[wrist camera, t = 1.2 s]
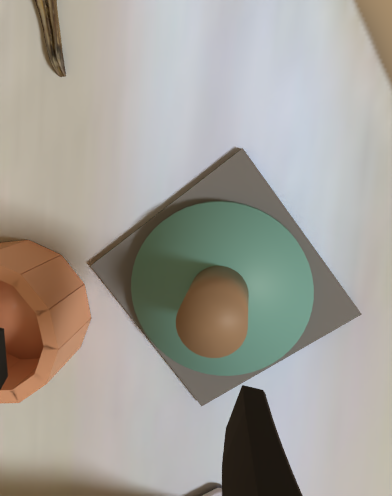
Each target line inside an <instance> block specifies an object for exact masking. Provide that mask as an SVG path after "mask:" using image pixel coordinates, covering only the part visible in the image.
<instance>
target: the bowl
mask: <svg viewBox="0 0 392 496" xmlns="http://www.w3.org/2000/svg"><path fill="white" fill-rule="evenodd" d="M90 320H91V314H90V309H89V304H88V299H87V294H86V289H85V284H84V283H83V281H82V280H81V279H80V278H79V276H78V275H77V274H76V273H75V271H74V270H73V269H72V268H71V266H70V265H69V264H68V263H67V261H66V260H65V259H64V258H63V256H62V255H60V254H58V253H56V252H54V251H52V250H49V249H47V248H45V247H43V246H41V245H38V244H36V243H34V242H32V241H30V240H21V241H12V242H2V243H0V328H4V334H5V346H6V358H7V370H8V377H7V379H6V381H5V383H4V384H3V386H2V388H1V390H0V403H19V402H21V401H22V400H24V399H25V398H27V397H28V396H30V395H31V394H33V393H34V392H35V391H37V390H38V389H40V388H41V387H43V386H44V385H46V384H47V383H48V382H49V381H50V380H51V379H52V377H53V376H54V375H55V374H56V373H57V372H58V371H59V370H60V369H61V368H62V367H63V366H64V365H65V364H66V362H67V361H68V360H69V359H70V358H71V357H72V356H73V355H74V354H75V353H76V352H77V351H78V350H79V348H80V347H81V345H82V342H83V339H84V337H85V334H86V331H87V328H88V326H89V323H90Z"/></svg>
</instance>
